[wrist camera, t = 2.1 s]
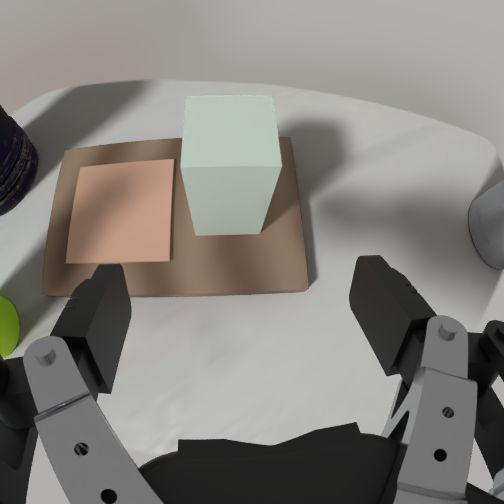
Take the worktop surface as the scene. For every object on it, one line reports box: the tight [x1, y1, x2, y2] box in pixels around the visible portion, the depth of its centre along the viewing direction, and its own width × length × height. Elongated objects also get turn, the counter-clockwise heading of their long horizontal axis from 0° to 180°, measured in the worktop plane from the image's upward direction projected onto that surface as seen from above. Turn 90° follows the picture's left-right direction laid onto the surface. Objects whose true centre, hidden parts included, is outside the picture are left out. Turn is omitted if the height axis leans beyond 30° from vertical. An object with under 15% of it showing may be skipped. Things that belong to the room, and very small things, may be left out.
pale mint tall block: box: [180, 95, 282, 236], centre depth 20 cm, size 5×5×10 cm
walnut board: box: [42, 137, 309, 297], centre depth 25 cm, size 22×14×2 cm, turn 93°
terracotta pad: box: [66, 159, 174, 264], centre depth 24 cm, size 9×9×1 cm
